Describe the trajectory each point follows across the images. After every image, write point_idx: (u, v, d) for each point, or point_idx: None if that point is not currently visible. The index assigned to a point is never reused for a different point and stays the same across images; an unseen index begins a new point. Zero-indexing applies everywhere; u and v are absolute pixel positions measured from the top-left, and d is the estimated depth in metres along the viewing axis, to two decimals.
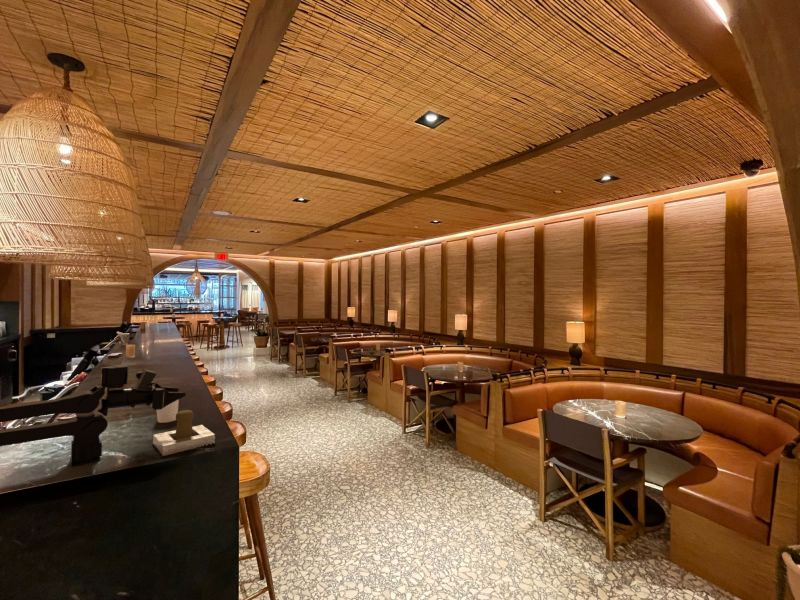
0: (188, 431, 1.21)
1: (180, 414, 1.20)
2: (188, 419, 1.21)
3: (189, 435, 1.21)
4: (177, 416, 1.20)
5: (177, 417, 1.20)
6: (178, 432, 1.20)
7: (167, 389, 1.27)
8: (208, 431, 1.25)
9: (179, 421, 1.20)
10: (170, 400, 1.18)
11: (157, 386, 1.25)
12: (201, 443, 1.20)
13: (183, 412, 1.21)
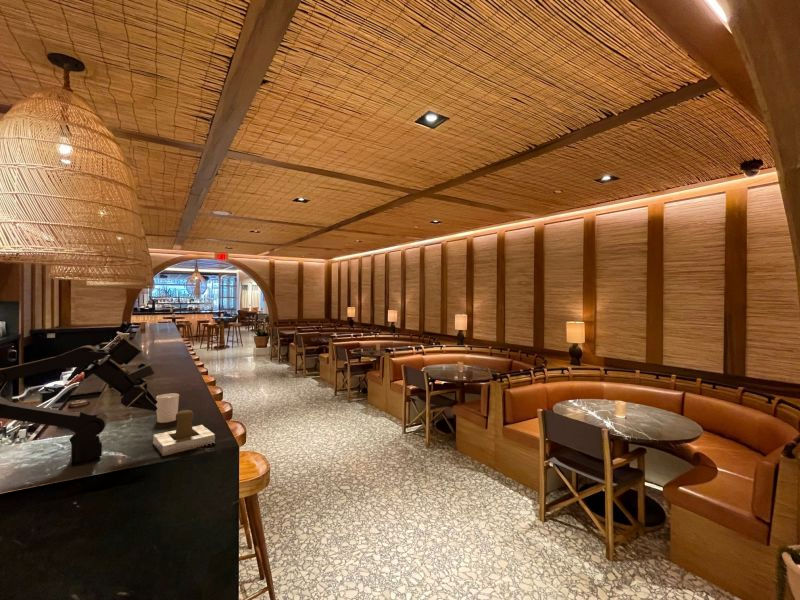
0: (188, 431, 1.21)
1: (180, 414, 1.20)
2: (188, 419, 1.21)
3: (189, 435, 1.21)
4: (177, 416, 1.20)
5: (177, 417, 1.20)
6: (178, 432, 1.20)
7: (149, 395, 1.21)
8: (208, 431, 1.25)
9: (179, 421, 1.20)
10: (140, 405, 1.11)
11: (144, 386, 1.21)
12: (201, 443, 1.20)
13: (183, 412, 1.21)
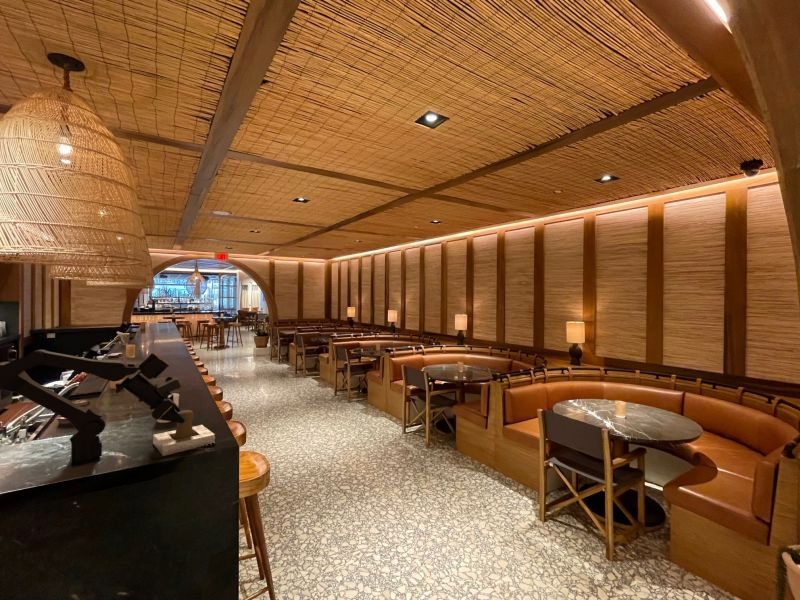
0: (188, 431, 1.21)
1: (180, 414, 1.20)
2: (188, 419, 1.21)
3: (189, 435, 1.21)
4: None
5: None
6: (178, 432, 1.20)
7: (175, 407, 1.25)
8: (208, 431, 1.25)
9: None
10: (169, 417, 1.15)
11: (171, 399, 1.25)
12: (201, 443, 1.20)
13: (183, 412, 1.21)
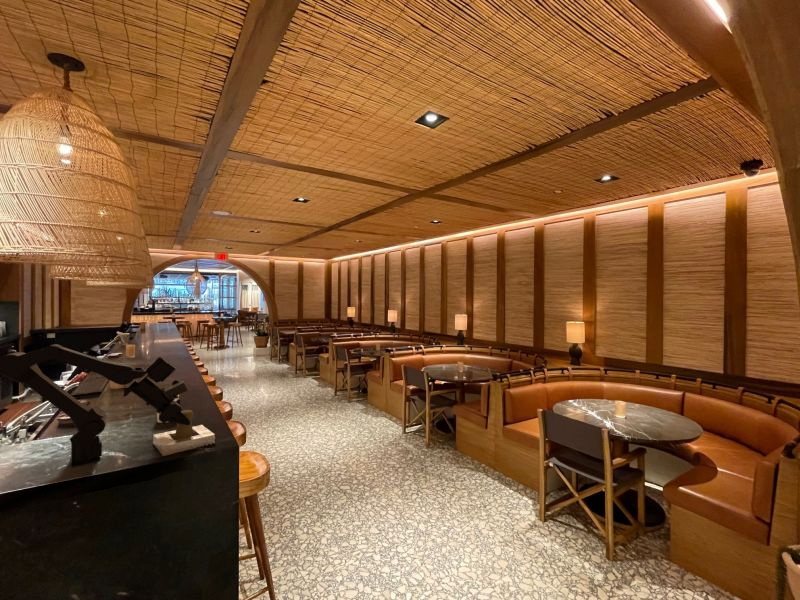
0: (188, 431, 1.21)
1: None
2: None
3: (189, 435, 1.21)
4: None
5: None
6: (178, 432, 1.20)
7: None
8: (208, 431, 1.25)
9: None
10: (175, 419, 1.17)
11: (177, 403, 1.24)
12: (201, 443, 1.20)
13: (183, 412, 1.21)
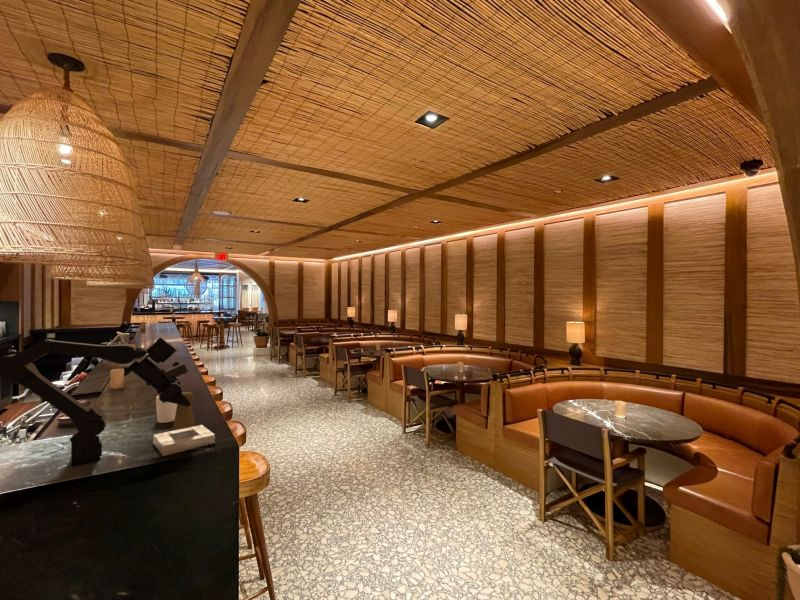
0: (188, 413, 1.21)
1: None
2: (188, 400, 1.21)
3: (189, 416, 1.21)
4: None
5: None
6: (178, 413, 1.20)
7: None
8: (208, 431, 1.25)
9: None
10: (175, 400, 1.18)
11: None
12: (201, 443, 1.20)
13: (183, 393, 1.21)
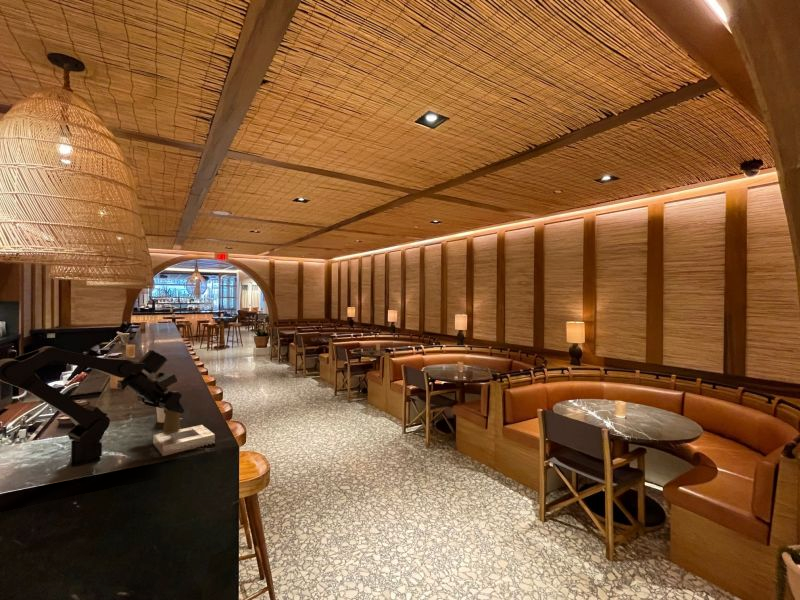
0: (178, 423, 1.30)
1: None
2: None
3: (179, 426, 1.30)
4: None
5: None
6: (169, 424, 1.28)
7: None
8: (208, 431, 1.25)
9: (170, 414, 1.28)
10: (173, 408, 1.25)
11: None
12: (201, 443, 1.20)
13: None
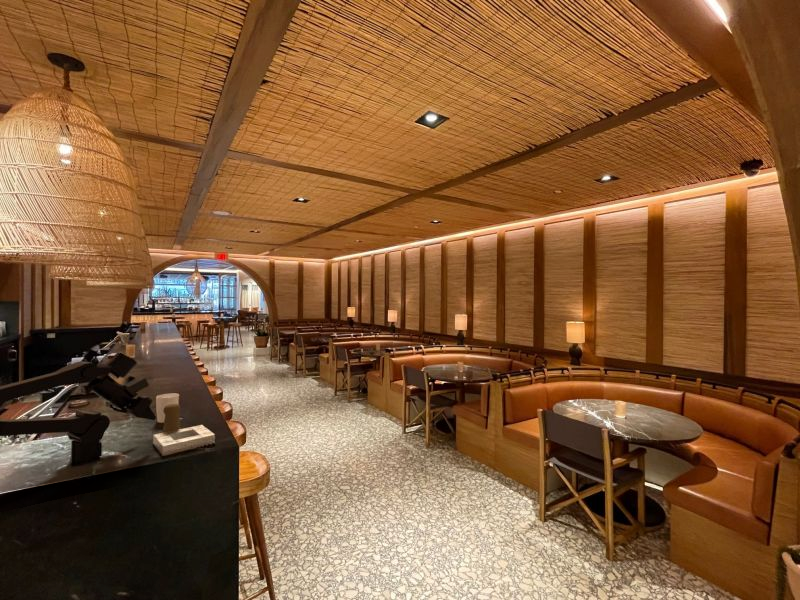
0: (178, 423, 1.30)
1: (171, 407, 1.28)
2: (178, 411, 1.30)
3: (179, 426, 1.30)
4: (167, 410, 1.27)
5: (168, 410, 1.27)
6: (169, 424, 1.28)
7: None
8: (208, 431, 1.25)
9: (170, 414, 1.28)
10: (143, 415, 1.17)
11: None
12: (201, 443, 1.20)
13: (172, 405, 1.29)
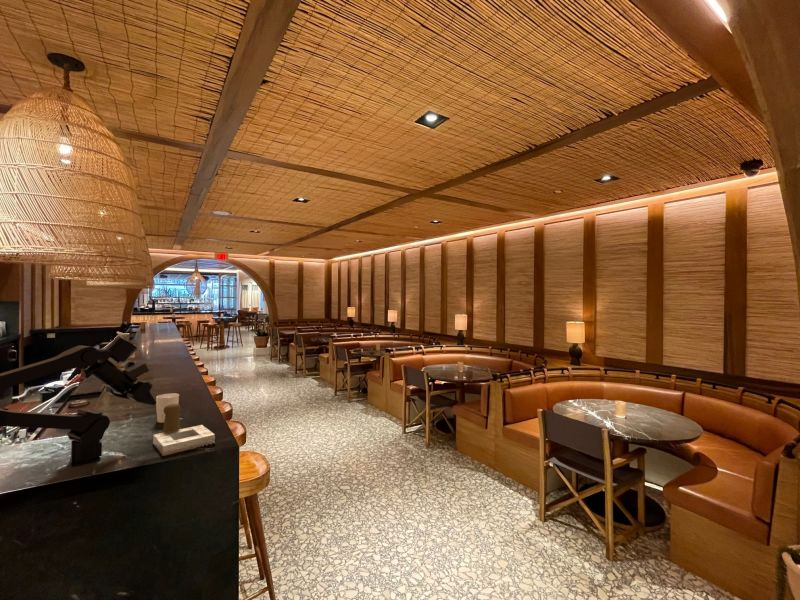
0: (178, 423, 1.30)
1: (171, 407, 1.28)
2: (178, 411, 1.30)
3: (179, 426, 1.30)
4: (168, 410, 1.27)
5: (168, 410, 1.27)
6: (169, 424, 1.28)
7: None
8: (208, 431, 1.25)
9: (170, 414, 1.28)
10: (144, 400, 1.17)
11: None
12: (201, 443, 1.20)
13: (173, 405, 1.29)
